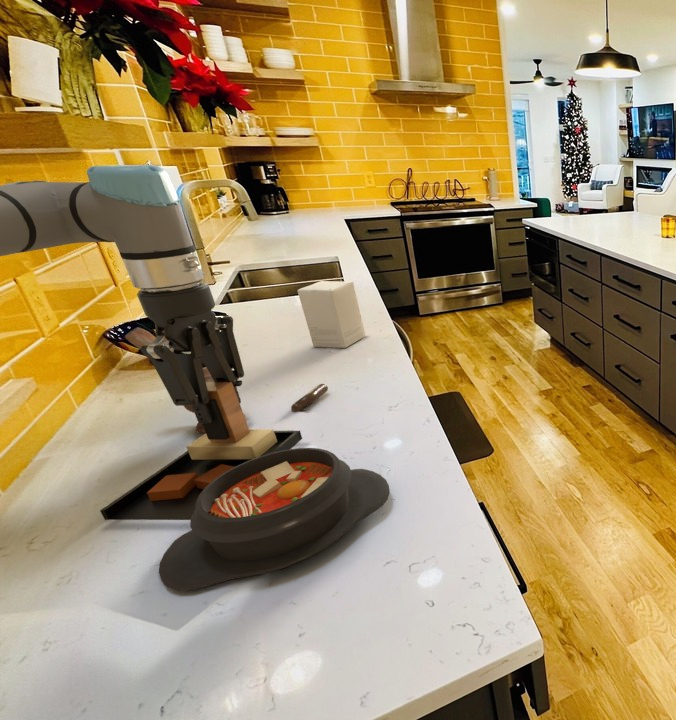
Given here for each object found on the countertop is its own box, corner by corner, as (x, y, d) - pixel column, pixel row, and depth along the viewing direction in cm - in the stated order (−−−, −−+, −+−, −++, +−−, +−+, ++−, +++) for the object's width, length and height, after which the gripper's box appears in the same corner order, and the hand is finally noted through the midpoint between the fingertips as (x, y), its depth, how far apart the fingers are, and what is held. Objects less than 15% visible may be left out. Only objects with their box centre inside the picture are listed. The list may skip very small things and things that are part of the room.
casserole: (170, 637, 52) (137, 577, 49) (160, 542, 64) (134, 489, 61) (412, 522, 68) (401, 470, 64) (367, 463, 80) (356, 418, 77)
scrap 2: (197, 488, 72) (193, 479, 72) (224, 472, 76) (221, 463, 75) (218, 492, 72) (215, 484, 71) (245, 476, 75) (242, 468, 74)
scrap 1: (150, 501, 70) (146, 492, 69) (170, 483, 73) (166, 475, 73) (183, 498, 70) (179, 489, 70) (200, 480, 74) (197, 472, 73)
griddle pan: (108, 526, 67) (99, 510, 66) (292, 393, 103) (289, 381, 102) (212, 526, 67) (205, 510, 66) (360, 393, 103) (357, 381, 102)
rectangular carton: (367, 336, 133) (354, 281, 127) (345, 348, 125) (331, 290, 119) (335, 334, 134) (321, 280, 128) (312, 347, 126) (295, 289, 120)
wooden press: (191, 459, 77) (163, 394, 72) (216, 442, 82) (191, 379, 77) (256, 459, 77) (232, 394, 73) (277, 441, 82) (256, 379, 77)
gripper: (147, 302, 61) (212, 461, 71) (242, 271, 76) (285, 406, 85) (85, 302, 61) (159, 462, 71) (192, 271, 76) (241, 406, 85)
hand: (228, 431), depth 78 cm, fingers closed on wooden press, 3 cm apart
